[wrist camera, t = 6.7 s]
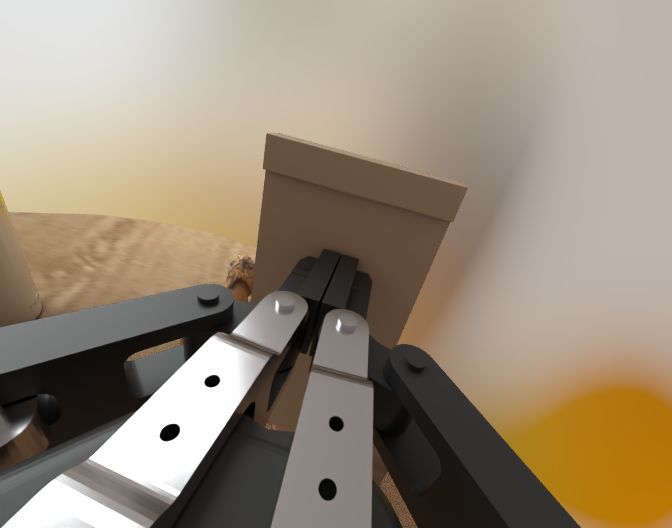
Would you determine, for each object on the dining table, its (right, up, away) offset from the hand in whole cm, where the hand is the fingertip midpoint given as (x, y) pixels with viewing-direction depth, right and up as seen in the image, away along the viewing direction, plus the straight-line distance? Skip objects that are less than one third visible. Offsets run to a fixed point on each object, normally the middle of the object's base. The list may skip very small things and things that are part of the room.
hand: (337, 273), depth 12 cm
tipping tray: (-1, -7, +10) cm, 13 cm away
